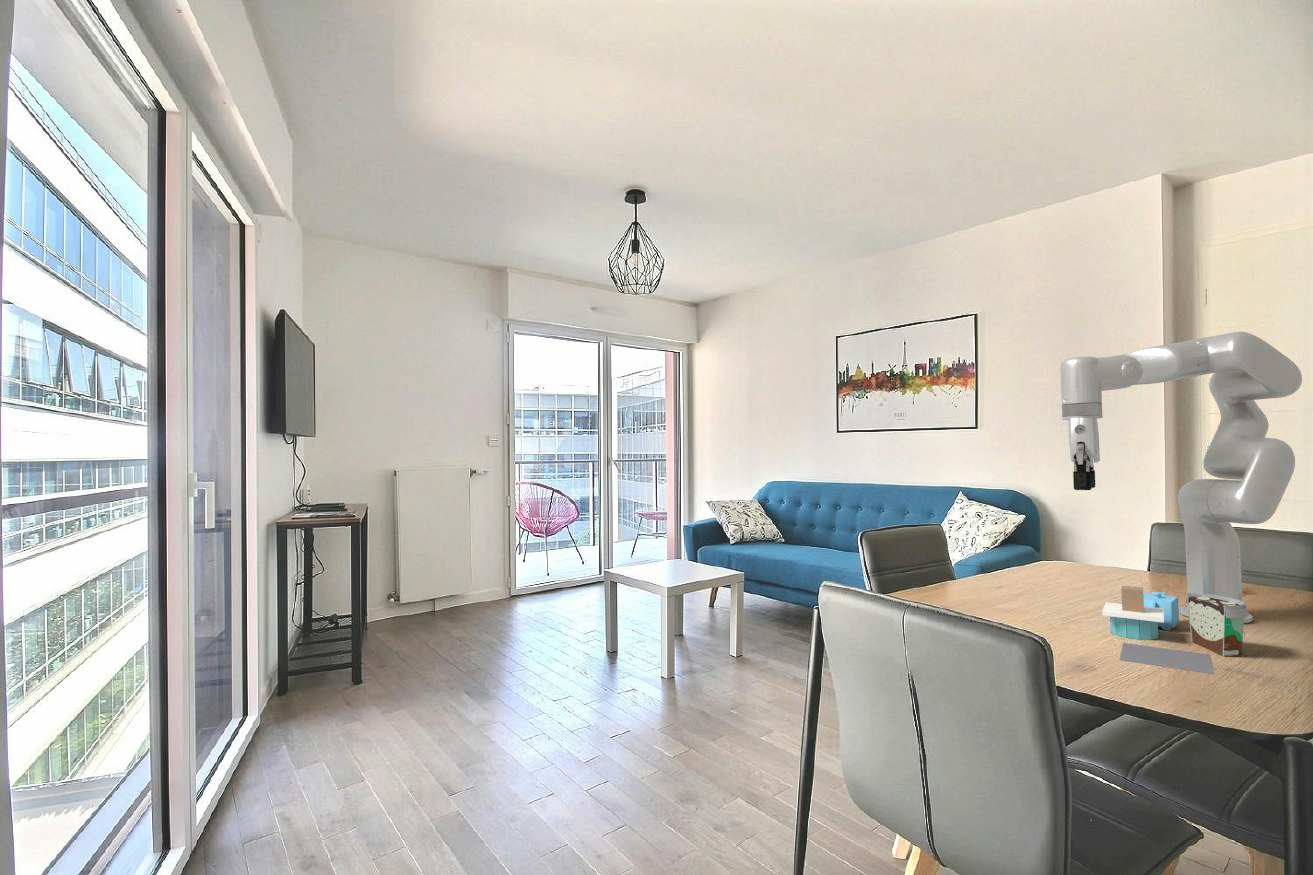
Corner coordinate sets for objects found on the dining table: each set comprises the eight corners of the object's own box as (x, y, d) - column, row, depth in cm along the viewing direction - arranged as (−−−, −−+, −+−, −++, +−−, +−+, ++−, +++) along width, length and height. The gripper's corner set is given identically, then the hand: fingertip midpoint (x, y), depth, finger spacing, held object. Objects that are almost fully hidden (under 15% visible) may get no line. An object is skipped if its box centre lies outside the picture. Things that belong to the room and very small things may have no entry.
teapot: (1148, 618, 146) (1147, 585, 146) (1182, 623, 141) (1180, 589, 141) (1135, 628, 138) (1134, 593, 138) (1170, 634, 133) (1169, 598, 134)
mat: (1123, 645, 126) (1123, 642, 126) (1209, 657, 118) (1209, 654, 118) (1119, 662, 116) (1119, 659, 116) (1213, 677, 108) (1213, 674, 108)
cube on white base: (1164, 612, 133) (1163, 586, 133) (1163, 622, 125) (1162, 595, 125) (1105, 605, 139) (1104, 581, 139) (1102, 615, 131) (1101, 589, 131)
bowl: (1112, 629, 137) (1111, 607, 138) (1158, 635, 132) (1157, 612, 133) (1109, 637, 131) (1108, 615, 131) (1158, 644, 126) (1157, 620, 126)
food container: (1268, 663, 114) (1266, 607, 114) (1229, 661, 115) (1226, 606, 116) (1222, 643, 126) (1220, 593, 127) (1187, 642, 127) (1184, 592, 128)
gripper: (1099, 409, 133) (1102, 491, 133) (1105, 413, 147) (1108, 487, 146) (1057, 411, 138) (1060, 490, 137) (1066, 414, 151) (1069, 486, 151)
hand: (1084, 488), depth 142 cm, fingers open, 9 cm apart
